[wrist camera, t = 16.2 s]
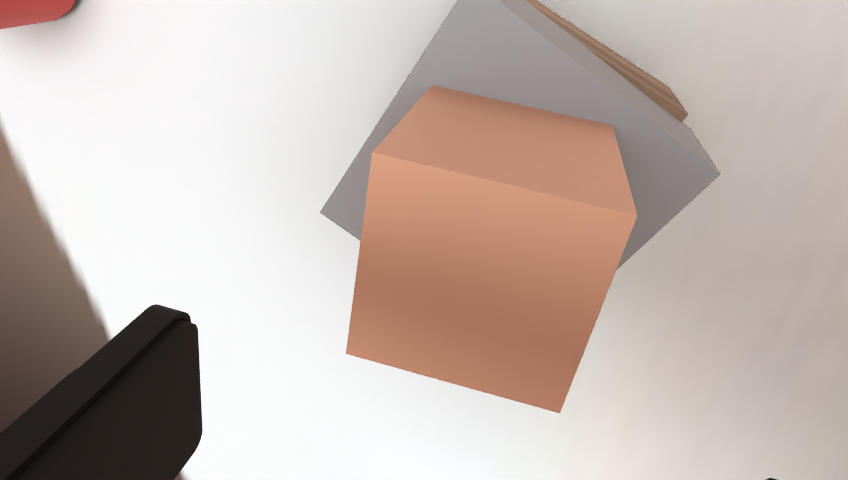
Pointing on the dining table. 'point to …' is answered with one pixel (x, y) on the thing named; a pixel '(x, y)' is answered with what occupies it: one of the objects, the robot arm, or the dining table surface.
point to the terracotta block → (489, 245)
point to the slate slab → (544, 107)
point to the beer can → (31, 11)
